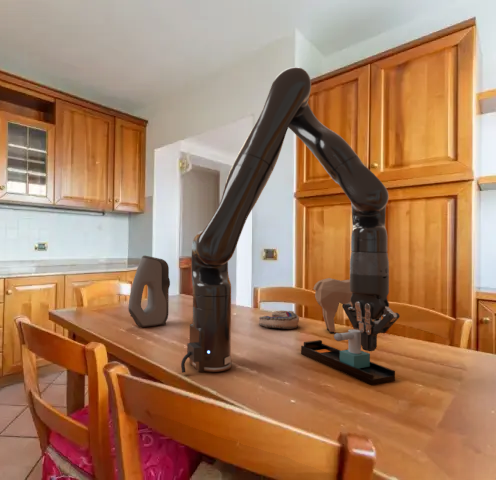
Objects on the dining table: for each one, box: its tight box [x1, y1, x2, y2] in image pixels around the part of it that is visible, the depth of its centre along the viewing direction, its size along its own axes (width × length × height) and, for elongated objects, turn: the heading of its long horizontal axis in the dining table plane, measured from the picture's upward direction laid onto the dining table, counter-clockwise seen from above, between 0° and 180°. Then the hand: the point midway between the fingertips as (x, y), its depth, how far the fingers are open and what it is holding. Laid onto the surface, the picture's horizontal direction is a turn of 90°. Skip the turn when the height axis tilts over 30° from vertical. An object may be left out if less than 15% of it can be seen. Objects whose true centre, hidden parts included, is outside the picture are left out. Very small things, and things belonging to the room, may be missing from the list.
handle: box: [333, 328, 371, 368], centre depth 77 cm, size 8×4×8 cm, turn 111°
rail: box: [300, 339, 396, 386], centre depth 81 cm, size 7×21×3 cm, turn 21°
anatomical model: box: [258, 310, 300, 330], centre depth 120 cm, size 12×16×5 cm
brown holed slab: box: [127, 255, 171, 328], centre depth 119 cm, size 6×15×25 cm, turn 125°
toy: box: [312, 277, 365, 335], centre depth 112 cm, size 9×20×30 cm, turn 78°
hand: (368, 350), depth 74 cm, fingers closed
